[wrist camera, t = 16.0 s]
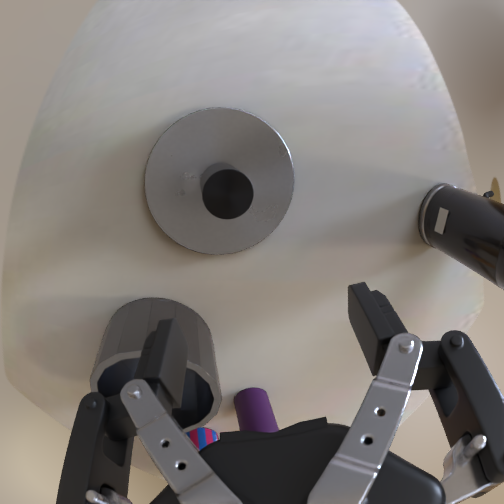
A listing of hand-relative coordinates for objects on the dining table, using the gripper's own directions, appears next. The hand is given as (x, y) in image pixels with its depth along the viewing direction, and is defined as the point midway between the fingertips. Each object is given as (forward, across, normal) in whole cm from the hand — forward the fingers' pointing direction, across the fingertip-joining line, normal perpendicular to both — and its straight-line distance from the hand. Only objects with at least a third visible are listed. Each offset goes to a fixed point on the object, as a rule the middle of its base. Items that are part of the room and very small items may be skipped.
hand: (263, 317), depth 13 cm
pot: (+15, +15, +15) cm, 26 cm away
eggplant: (+16, +6, +30) cm, 34 cm away
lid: (+18, +2, -2) cm, 18 cm away
